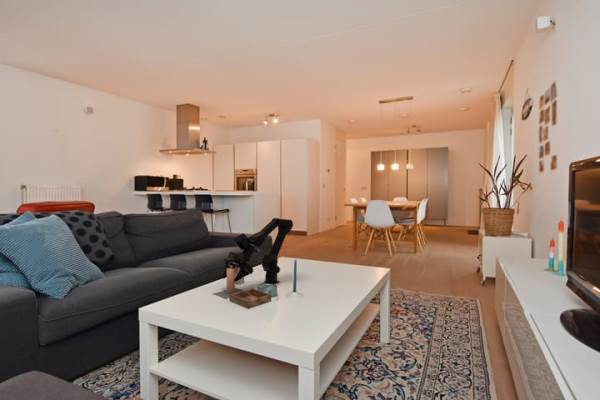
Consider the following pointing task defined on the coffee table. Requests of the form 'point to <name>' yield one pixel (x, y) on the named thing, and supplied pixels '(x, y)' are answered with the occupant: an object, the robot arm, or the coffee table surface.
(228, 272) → the tan cylinder
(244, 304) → the crate
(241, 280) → the small box
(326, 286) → the coffee table surface
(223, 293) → the mat
